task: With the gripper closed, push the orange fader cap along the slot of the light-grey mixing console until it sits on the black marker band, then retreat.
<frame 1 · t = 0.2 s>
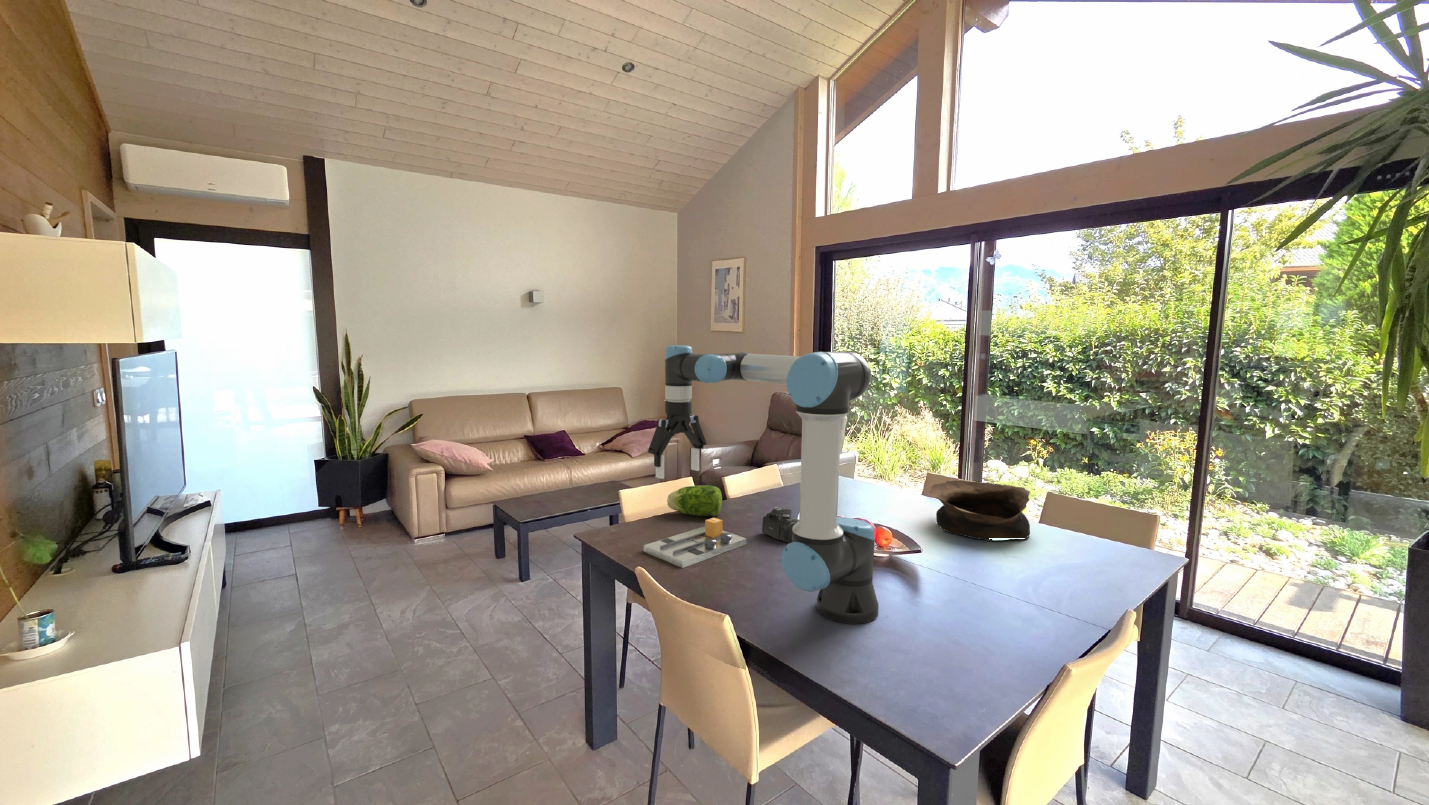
hand: (677, 474, 174), 28 cm above the table, fingers open, 13 cm apart
bowl: (977, 530, 215), on the table
lettuce: (694, 515, 227), on the table
camera: (780, 537, 205), on the table
fader: (713, 527, 199), point 5 cm above the table, slide at -8.0 cm
console: (696, 547, 194), on the table
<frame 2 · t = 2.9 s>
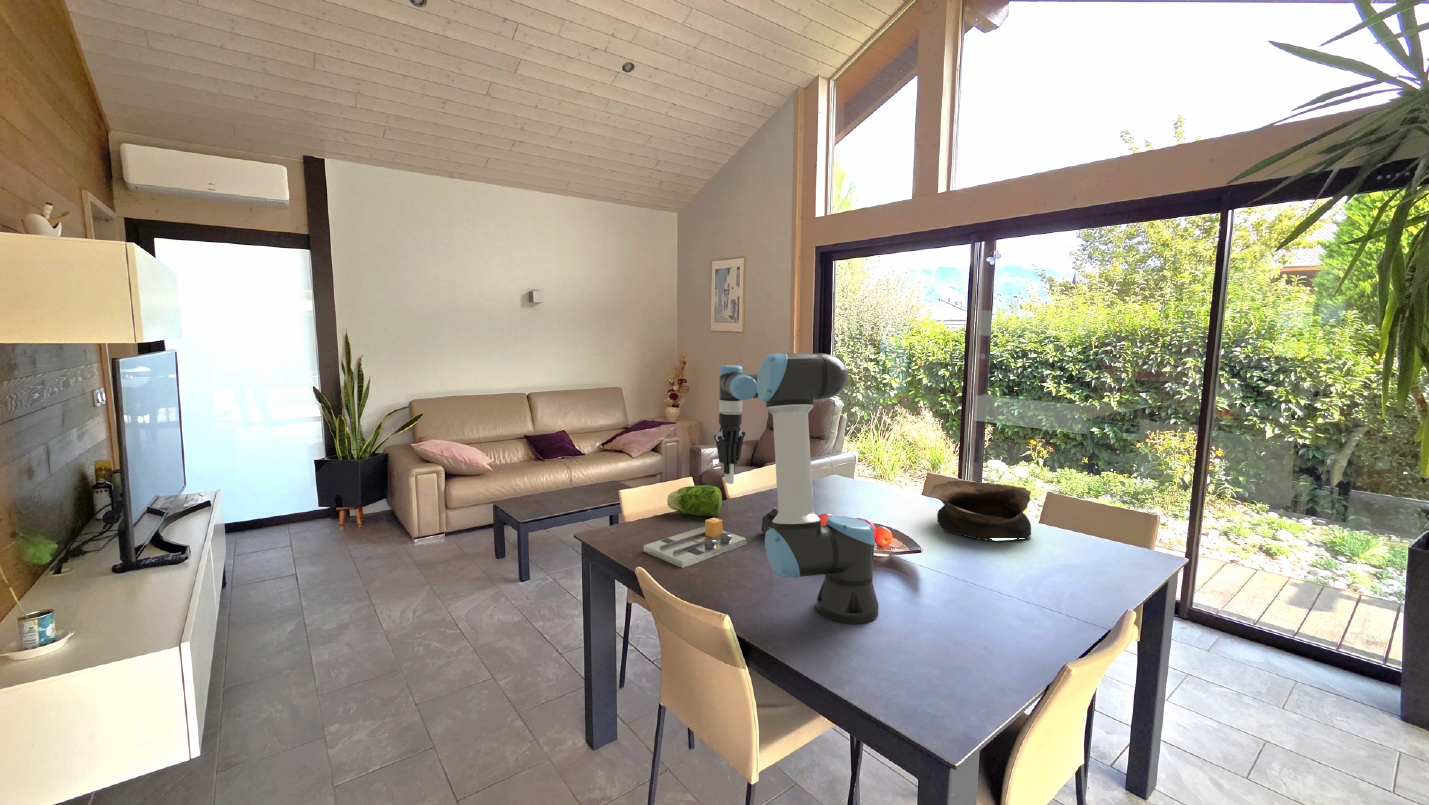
hand: (729, 482, 202), 19 cm above the table, fingers closed
nothing on the table moved.
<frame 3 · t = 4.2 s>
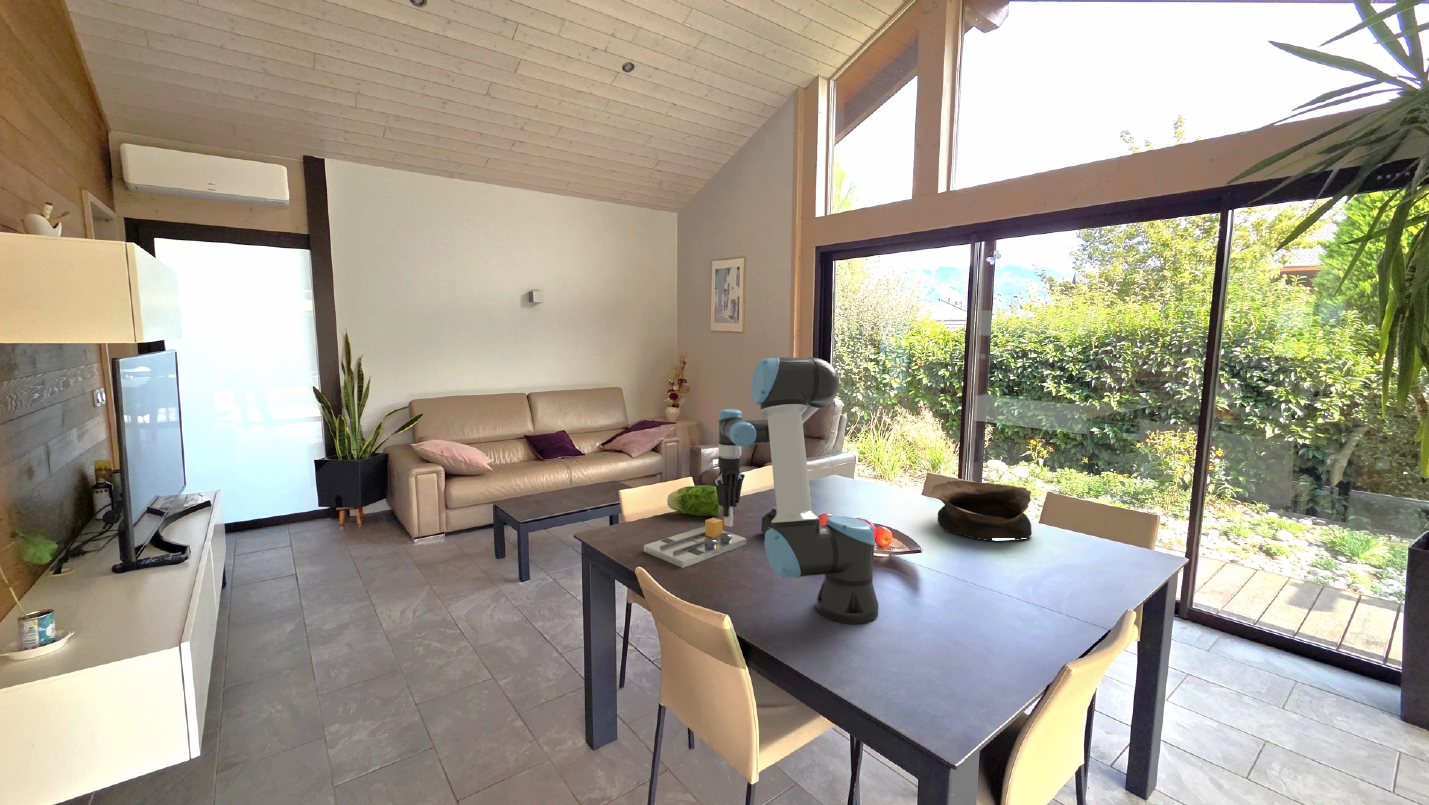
hand: (728, 525, 204), 4 cm above the table, fingers closed
nothing on the table moved.
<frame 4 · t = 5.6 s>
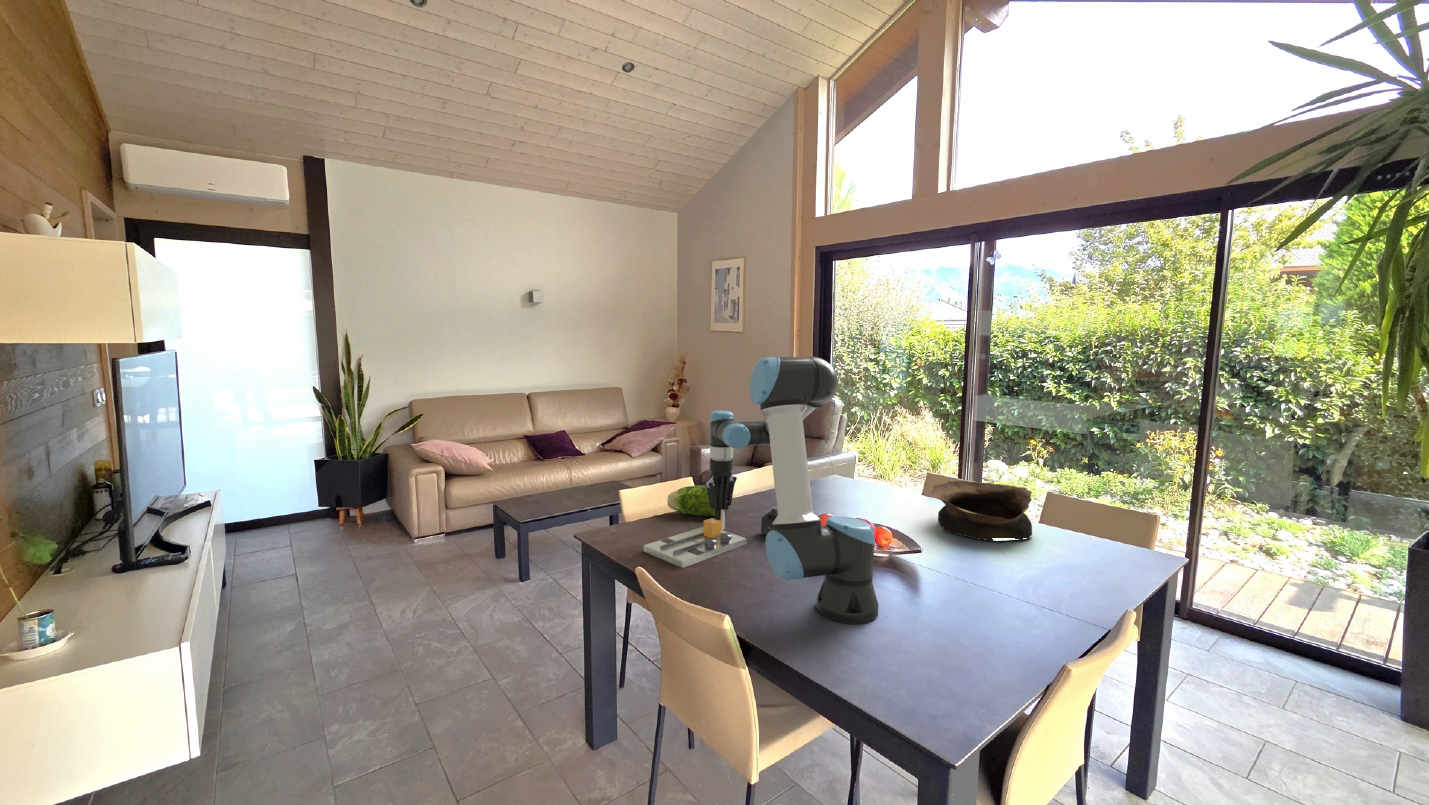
hand: (720, 528, 201), 4 cm above the table, fingers closed
fader: (712, 527, 198), point 5 cm above the table, slide at -7.3 cm, touching gripper
everything else where it was.
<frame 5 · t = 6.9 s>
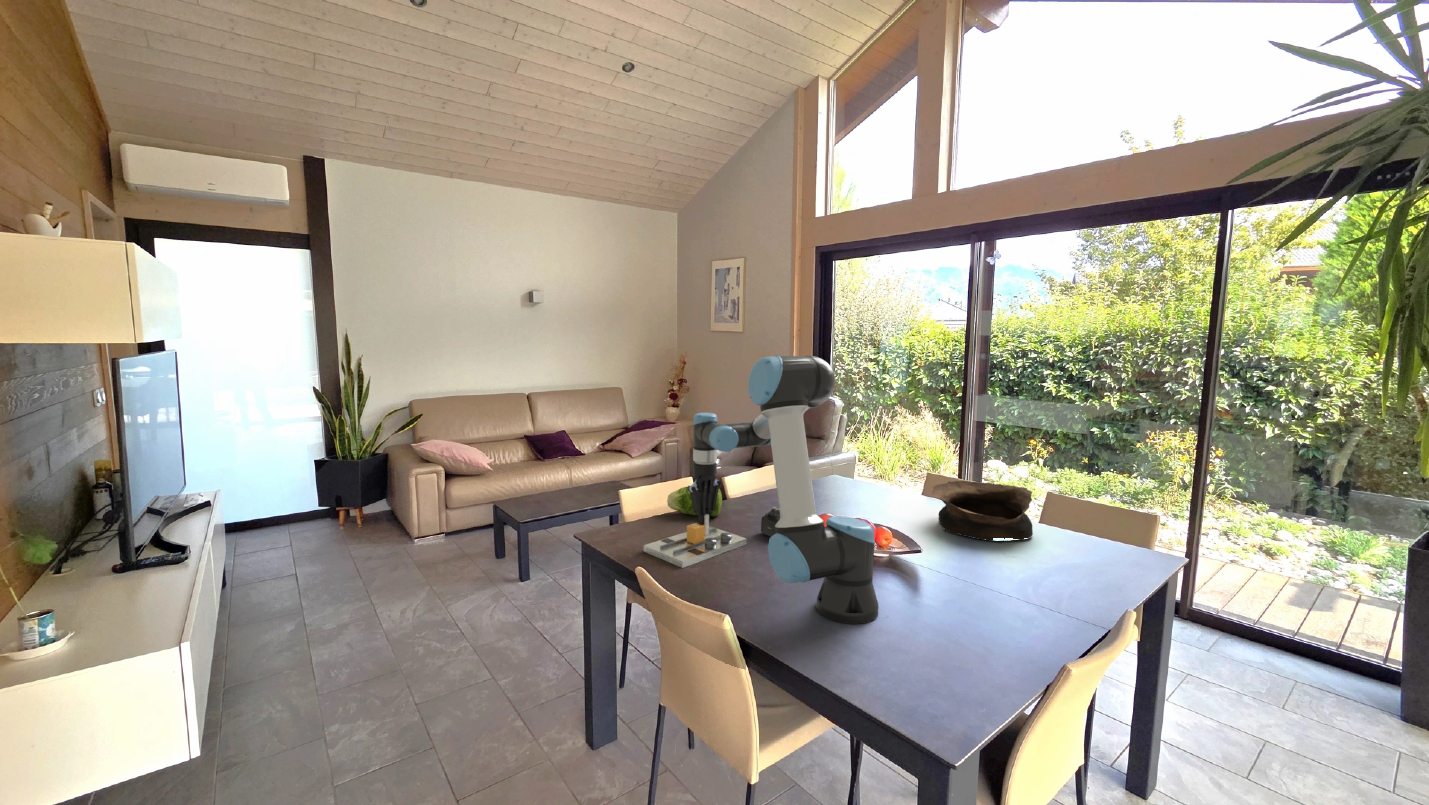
hand: (704, 533, 196), 4 cm above the table, fingers closed
fader: (695, 533, 193), point 5 cm above the table, slide at 0.2 cm, touching gripper
everything else where it was.
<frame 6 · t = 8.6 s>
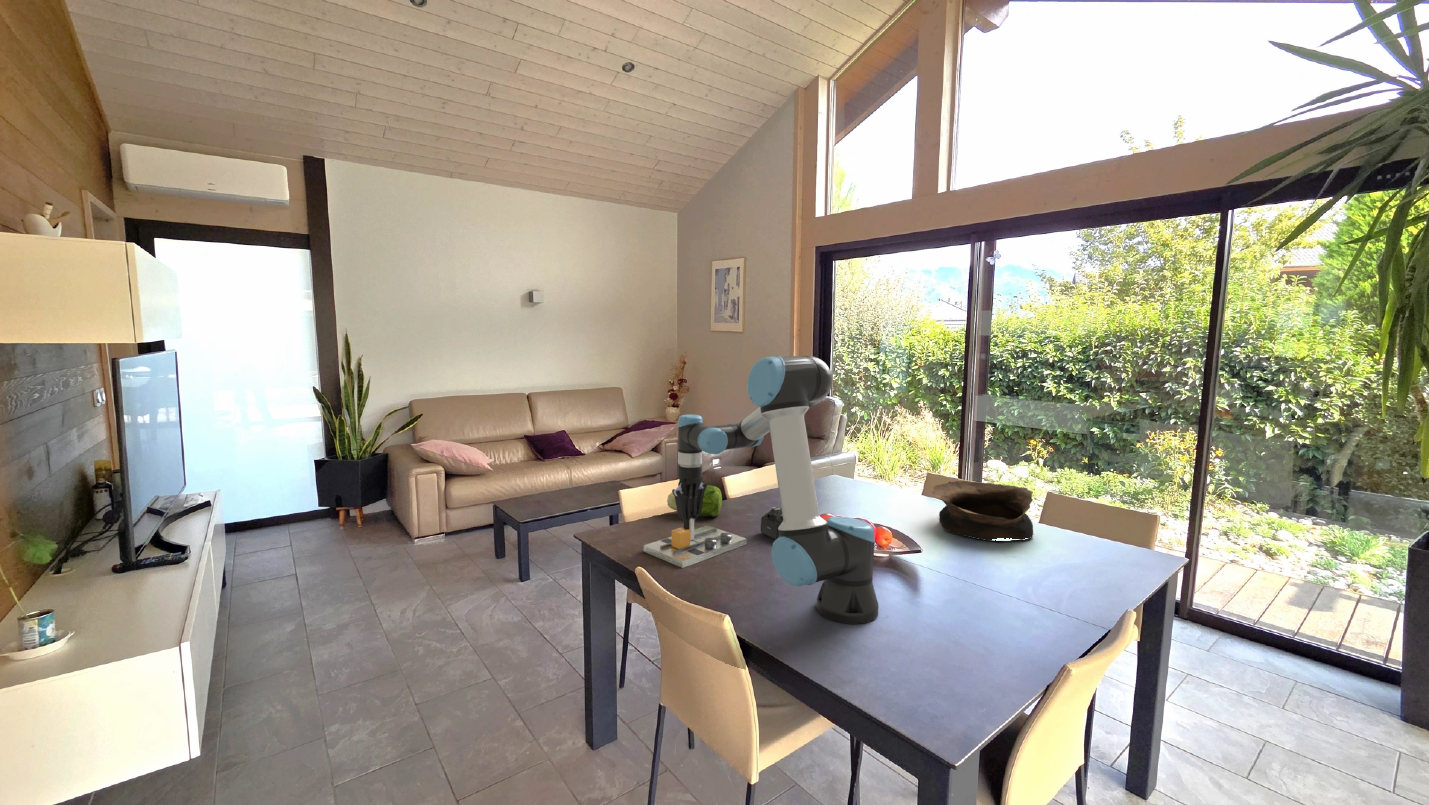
hand: (689, 538, 191), 4 cm above the table, fingers closed
fader: (680, 538, 188), point 5 cm above the table, slide at 6.6 cm, touching gripper
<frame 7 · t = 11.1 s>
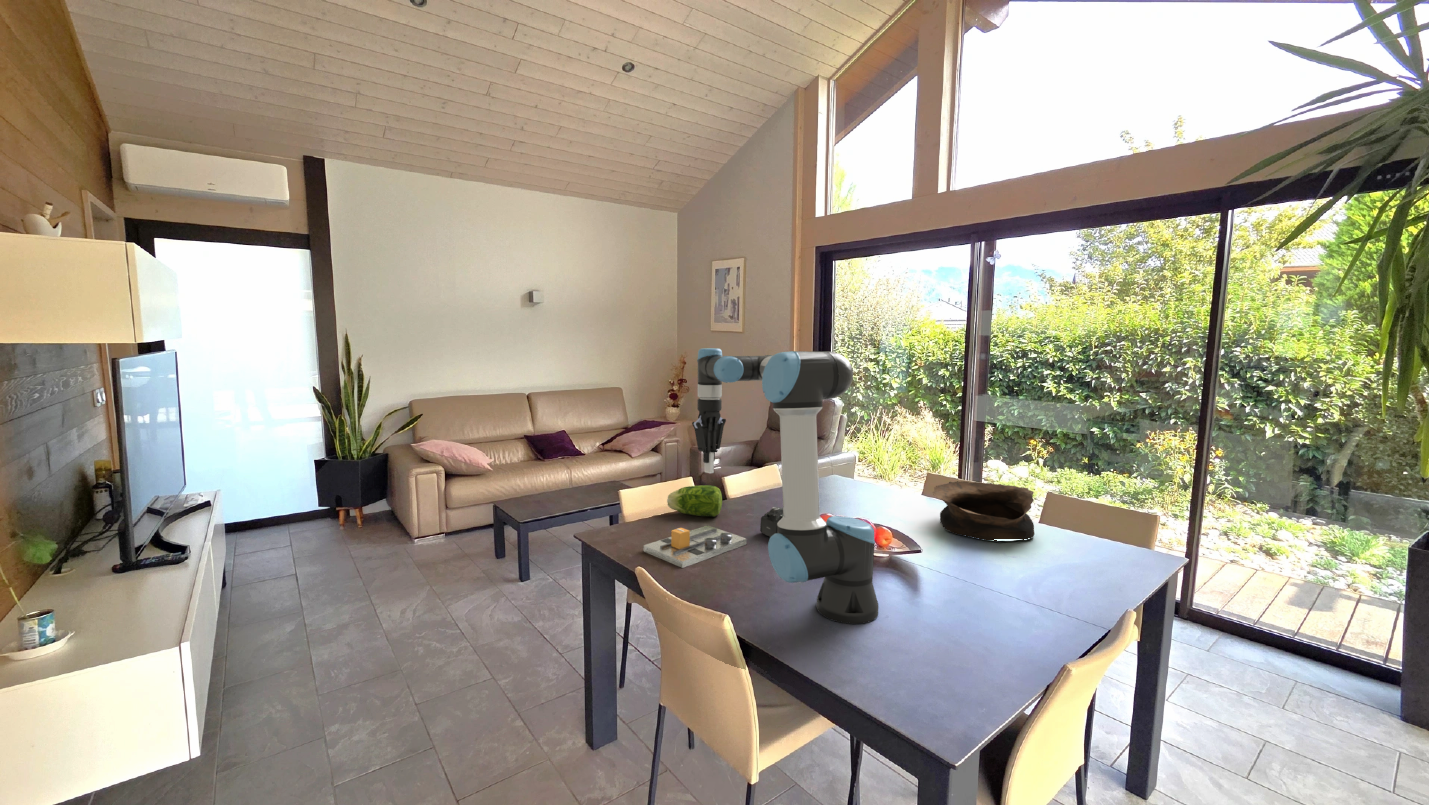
hand: (709, 472, 192), 24 cm above the table, fingers closed
fader: (680, 538, 188), point 5 cm above the table, slide at 6.7 cm
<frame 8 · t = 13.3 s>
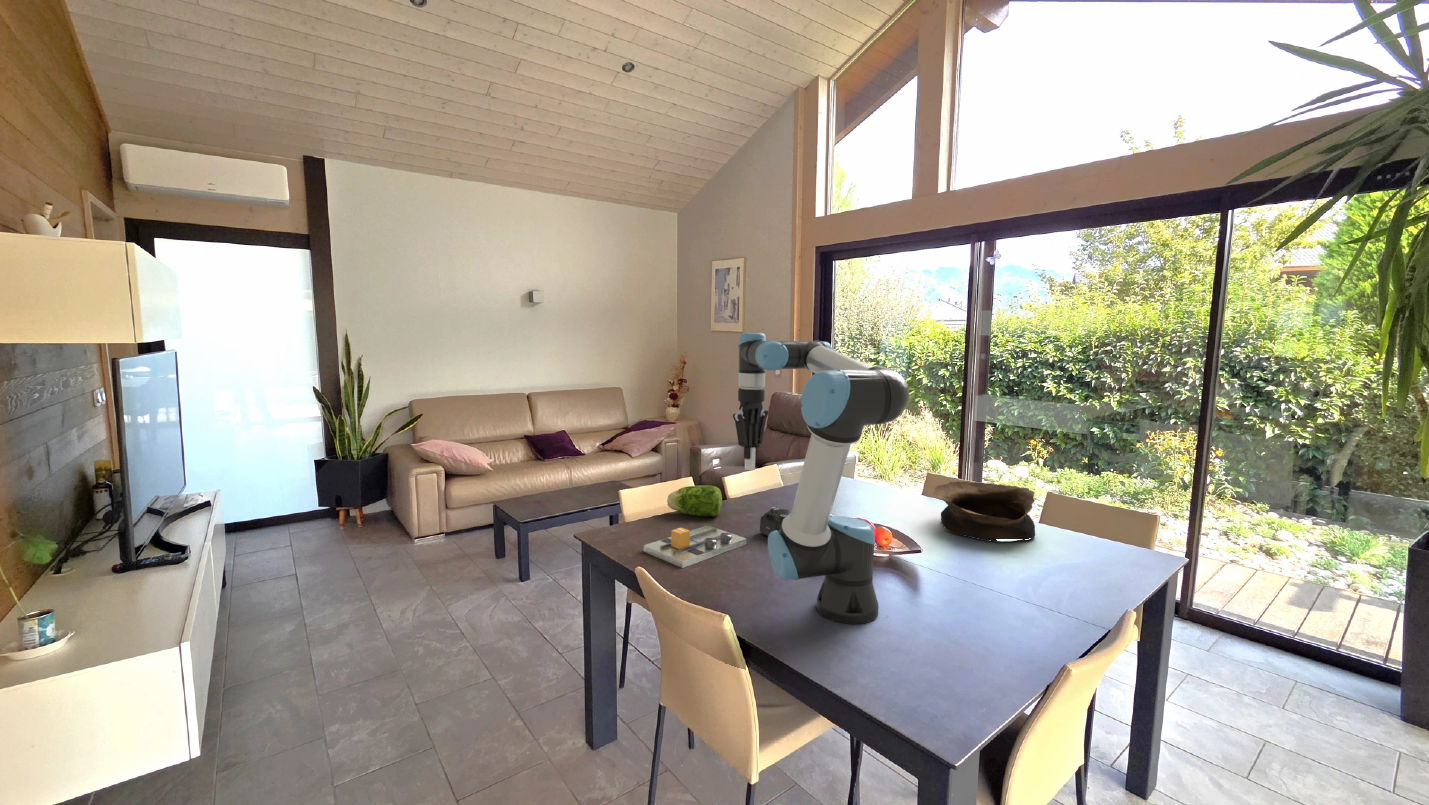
hand: (749, 469, 175), 29 cm above the table, fingers closed
at the end: fader slide at 6.7 cm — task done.
